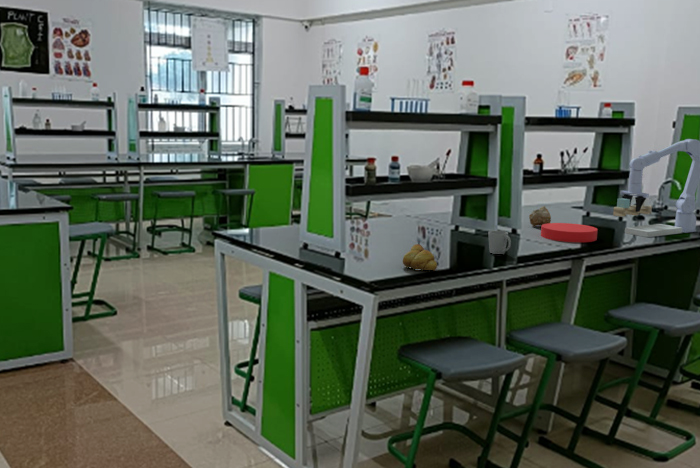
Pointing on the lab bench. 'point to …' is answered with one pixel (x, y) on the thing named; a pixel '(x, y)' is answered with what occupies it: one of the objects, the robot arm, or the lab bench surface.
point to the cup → (498, 242)
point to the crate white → (646, 202)
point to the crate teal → (623, 203)
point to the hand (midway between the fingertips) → (632, 210)
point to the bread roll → (419, 259)
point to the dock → (653, 230)
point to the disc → (569, 232)
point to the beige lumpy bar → (631, 210)
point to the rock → (540, 217)
